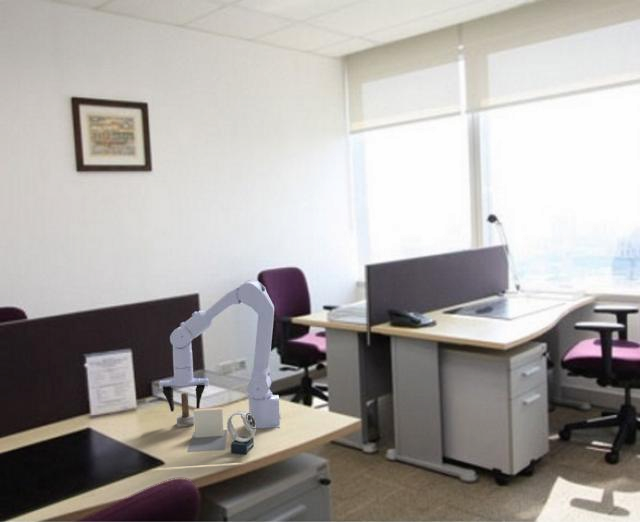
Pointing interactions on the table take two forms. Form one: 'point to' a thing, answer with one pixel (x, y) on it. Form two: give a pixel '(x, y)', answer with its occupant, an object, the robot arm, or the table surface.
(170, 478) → the table surface
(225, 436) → the mat
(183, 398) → the trowel
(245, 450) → the watch
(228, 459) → the table surface
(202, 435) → the tile
